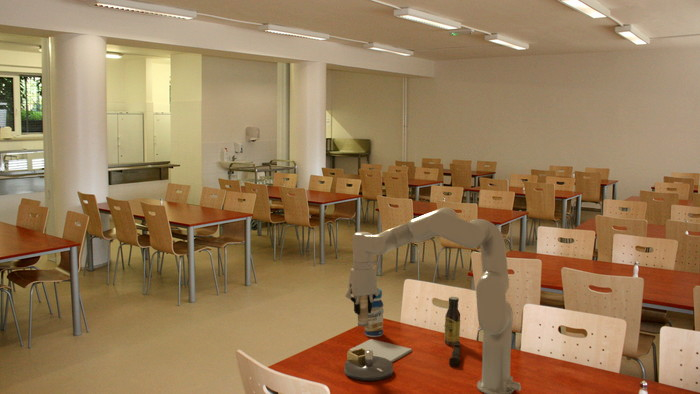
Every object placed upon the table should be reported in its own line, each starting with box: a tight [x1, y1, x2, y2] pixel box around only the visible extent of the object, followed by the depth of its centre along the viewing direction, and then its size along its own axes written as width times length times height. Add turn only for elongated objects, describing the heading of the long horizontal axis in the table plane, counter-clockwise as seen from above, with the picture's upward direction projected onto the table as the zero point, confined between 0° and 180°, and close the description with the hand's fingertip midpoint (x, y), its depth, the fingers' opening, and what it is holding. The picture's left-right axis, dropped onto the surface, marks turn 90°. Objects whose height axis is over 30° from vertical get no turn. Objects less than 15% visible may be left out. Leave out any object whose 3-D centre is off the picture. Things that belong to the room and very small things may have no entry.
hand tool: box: [448, 340, 461, 368], centre depth 244 cm, size 19×4×5 cm, turn 164°
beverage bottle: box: [364, 288, 385, 338], centre depth 271 cm, size 8×8×20 cm
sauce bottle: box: [443, 296, 461, 346], centre depth 260 cm, size 6×6×20 cm
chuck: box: [344, 348, 394, 382], centre depth 230 cm, size 18×18×8 cm
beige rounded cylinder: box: [357, 295, 368, 328], centre depth 233 cm, size 4×4×12 cm
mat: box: [348, 338, 413, 363], centre depth 251 cm, size 20×16×1 cm
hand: (362, 312), depth 233 cm, fingers closed on beige rounded cylinder, 4 cm apart
